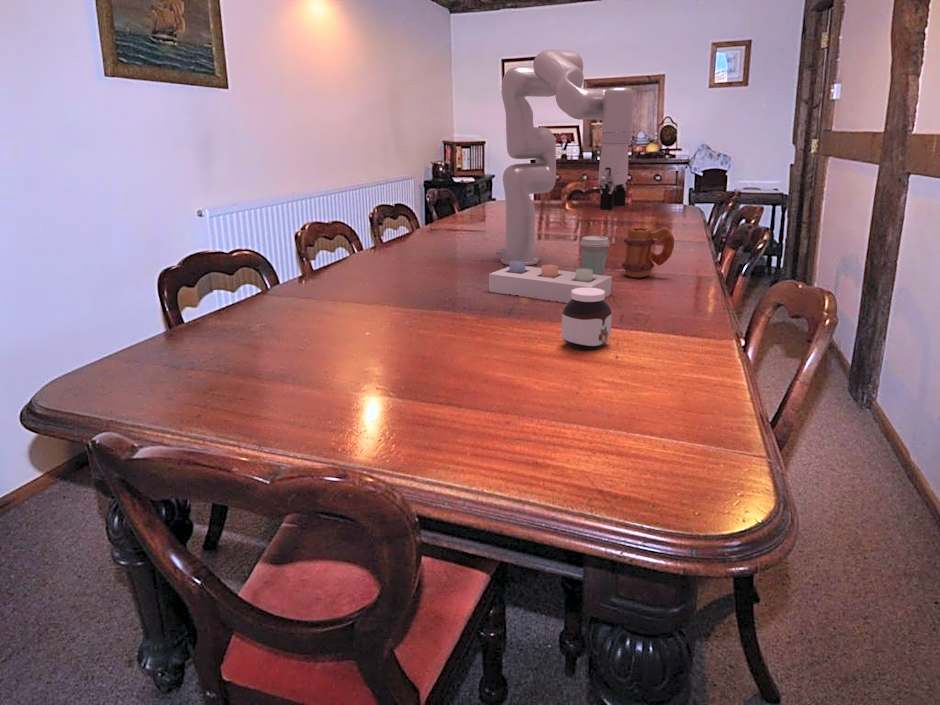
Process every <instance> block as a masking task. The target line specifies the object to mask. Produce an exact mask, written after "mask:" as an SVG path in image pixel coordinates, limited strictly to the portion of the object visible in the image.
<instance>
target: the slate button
mask: <svg viewBox="0 0 940 705" xmlns="http://www.w3.org/2000/svg"><path fill="white" fill-rule="evenodd" d="M509 266H510V273H517V274H523V273H525V266H526V265H525V262H524V261H511V262H510V265H509Z"/></svg>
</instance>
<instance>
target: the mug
mask: <svg viewBox="0 0 940 705" xmlns="http://www.w3.org/2000/svg"><path fill="white" fill-rule="evenodd" d="M654 239H656V240H657V241H659V242H660V243H662V244H663V247H662V251H661V252H660V253H658V254H656V253H653V252H651V251H652V250H651V249H652V248H651V246H652V245H654V244H655V243H656V242H655V240H654ZM623 242H624V243H625V245H626V250H625V251H626V253H625V261H624V262H623V263H621V267H622V268H623V269H624V273H625V275H626V276H628V277H630V278H633V277H634V278H635V279H637V278H644V277H645V278H646V277H648V276H649V275H651V274H652V269H653V268H654V267H655V264H656V265H657V266H662V265H663V264H664V263H666V262H667V261H668V260H669V258H671V256H672V253H673V251H674V248H675V238H674V235H673V233H672V231H671V230H670V229H669V228H668V227H666V226H664V227H661V228H659V229H658V230H656V231H655V230H653V231H652V230H651V228H647V227H646V228H644V227H638V228H637V227H630V228H628V233H627V237H626V238H624V240H623ZM653 262H654V263H655V264H654V263H653Z"/></svg>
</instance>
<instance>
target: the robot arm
mask: <svg viewBox="0 0 940 705" xmlns="http://www.w3.org/2000/svg"><path fill="white" fill-rule="evenodd" d="M532 63H533V64H532V65H519V66H514V67H511V68H509V69H508V70H507V71H506V72H505V73H504V75H503V78H502V82H501V97H502V101H503V106H504V107H503V108H504V112H505V132H506V133H505V134H506V138H505V139H506V150H507V151H506V152H507V154H508V156H509V157H510V158H512V159H515V160H535V163H533V162H532V163H531V162H530V163H528V162H527V163H514V164H511V165H509V166H508V167H506V168H505V170H504V171H503V175H502V183H503V184H502V185H503V189H504V190H503V192H504V197H505V198H504V200H505V247H497V248H496V250H495V254H496V255H502V257H501V258H500V263H501V264H503V265H507V266H510V262H511V261H524V262H525V266H533V265H536V264H538V263H539V262H540V261H539V257H536V256H535V238H536V237H535V236H536V235H535V234H536V233H535V230H536V207H535V204H534V202H533V200H532V199H531V197H530V195H531V194H534V195H535V194H546V193H549V192H551V191H552V190H553V189H554V187H555V185H556V181H557V180H556V179H557V146H556V145H557V144H556V143H557V142H556V139H555V136H554V133H553V132H552V130H550V129H549V128H548V127H543V126H542V127H538V126H535V127H534V112H533V109H532V107H531V105H530V103H529V102H528V100H527V99H526V97H535V98H536V97H537V98H538V97H542V98H543V97H544V98H545V97H548V98H549V97H555V100H556V103H557V104H556V105H557V107H558V108H559V109H560V110H561V111H562V112H564V113H565V114H566V115H568V116H569V117H571V118H572V119H575V120H582V121H583V120H601V134H600V136H601V138H600V140H601V141H600V146H601V149H600V155H599V156H600V157H599V166H598V179H597V184H598V186H599V187H600V192H599V193H600V201H599V209H600V210H601V211H612V210H613V209H614V208H613V207H625V206H626V198H627V197H626V195H627V182H628V178H629V177H628V174H629V147H630V146H631V145H632V133H633V132H632V131H633V130H632V129H633V118H634V116H633V114H634V113H633V112H634V100H635V98H634V96H635V95H634V90H633V89H632V88H630V87H610V88H582V86H583V83H584V73H583V71H584V62H583V59H582V57H581V55H580V54H579V53H578V52H576V51H574V50H568V49H567V50H565V49H545V50H542V51H540V52H539V53H538V54H537V55H536V56H535V57H534V59H533V62H532Z"/></svg>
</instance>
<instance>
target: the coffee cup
mask: <svg viewBox="0 0 940 705" xmlns="http://www.w3.org/2000/svg"><path fill="white" fill-rule="evenodd" d="M579 246H580V250H581V263H582V264H581V265H582V266H581V268H587V269H592V270H593V274H596V275H604V273H605V268H606V262H607V256H608V249H609V246H610V241H609V238H608V237H607V236H603V235H602V236H601V235H587V236H583V237H582V238H581V240H580V243H579Z"/></svg>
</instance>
